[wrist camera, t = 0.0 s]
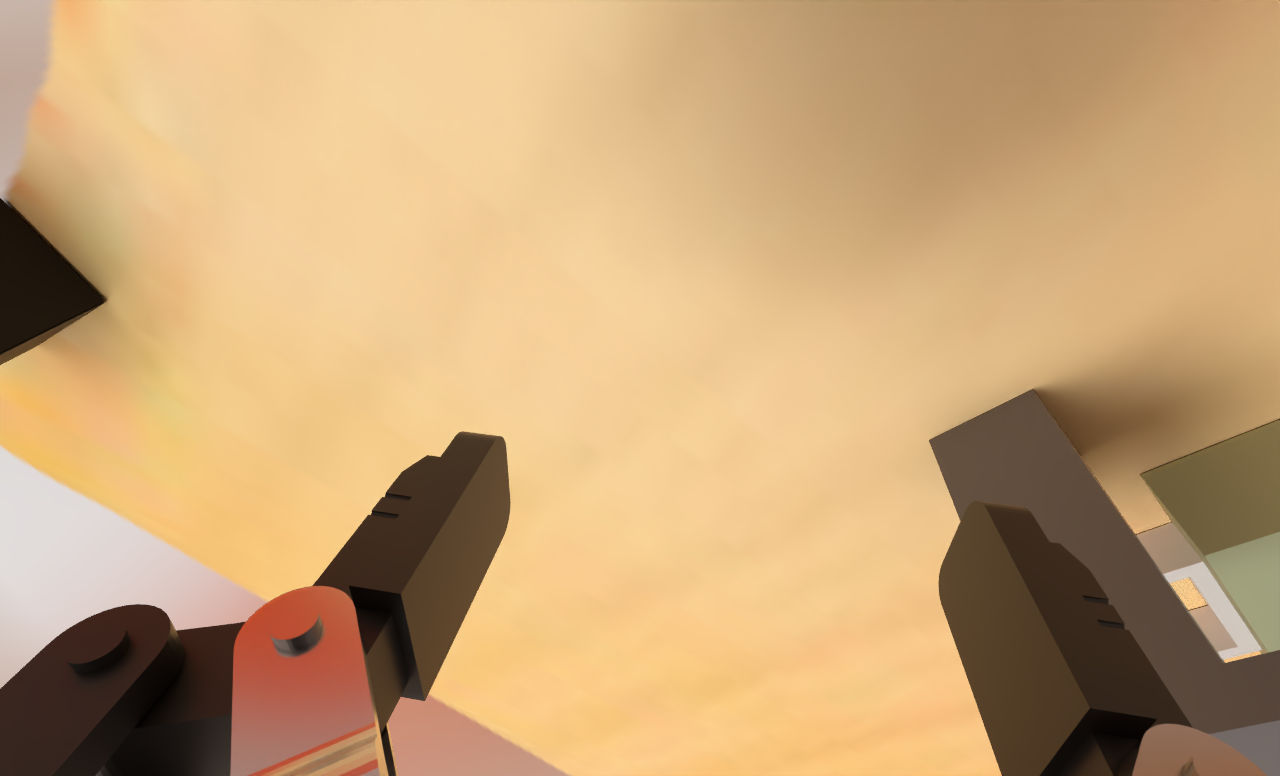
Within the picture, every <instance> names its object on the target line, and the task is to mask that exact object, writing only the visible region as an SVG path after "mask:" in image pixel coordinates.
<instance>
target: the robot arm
mask: <svg viewBox="0 0 1280 776" xmlns="http://www.w3.org/2000/svg"><path fill="white" fill-rule="evenodd" d="M509 514H510V491H509V478H508V465H507V452H506V443H505V440H504V438H503V437H501V436H493V435H486V434H478V433H471V432H459V433H458V434H457V435H456V436H455V438H454V439H453V440H452V442H451V443H450V445H449V446H448V447H447V449H446V450H445V452H444V453H443V454H442V456H441V457H436V456H429V455H427V456H426V457H424V458H422V459H421V460H419V461H418V462H416V463H415V464H413V465H412V466H410V467H409V468H407V469H406V470H404V471H403V472H402V473H401V474H400V475H399V476H398V478H397V479H396V480H395V482H394V483H393V484H392V485H391V487H390V488H389V489H388V490H387V492H386V495H385V497H382V498H381V499H380V501H379V502H378V503H377V504H376V506H375V507H374V508H373V510H372V514H371V515H368V516H367V517H366V519H365V520H364V521H363V522H362V524H361V525H360V526H359V527H358V529H357V530H356V531H355V533H354V534H353V535H352V536H351V538H350V539H349V540H348V541H347V543H346V544H345V545H344V547H343V548H342V549H341V550H340V552H339V553H338V554H337V556H336V557H335V558H334V559H333V561H332V562H331V563H330V564H329V566H328V567H327V568H326V570H325V571H324V572H323V573H322V575H321V576H320V577H319V578H318V580H317V581H316V582H315V583H314V584H313V586H310V587H304V588H300V589H296V590H293V591H290V592H287V593H285V594H282V595H280V596H278V597H276V598H274V599H273V600H271V601H269V602H268V603H266V604H265V605H263V606H262V607H261V608H260V609H258V610H257V611H256V612H255V613H254V614H253V615H252V616H251V617H250V618H249V619H248V620H247V621H246V622H241V623H236V624H227V625H219V626H211V627H203V628H194V629H186V630H178V631H176V630H175V628H174V626H173V624H172V622H171V621H170V619H169V617H168V615H167V614H166V613H165V612H164V611H163V610H162V609H159V608H157V607H155V606H150V605H140V604H139V605H138V604H137V605H126V606H121V607H117V608H113V609H110V610H107V611H103V612H101V613H98V614H96V615H93V616H91V617H89V618H87V619H85V620H83V621H81V622H79V623H77V624H76V625H74V626H72V627H70V628H69V629H67V630H66V631H64V632H63V633H62V634H60V635H59V636H57V637H56V638H55V639H54V640H53V641H51V642H50V643H49V644H48V645H47V646H46V647H45V648H44V649H42V650H41V651H40V652H39V653H38V654H37V655H36V656H35V657H34V658H33V659H32V660H31V661H30V662H29V663H27V664H26V666H25V667H23V668H22V669H21V670H20V671H19V672H18V673H17V674H16V675H15V676H14V677H12V678H11V679H10V680H9V681H8V682H7V683H6V684H5V685H4V686H3V687H2V688H1V689H0V776H398V772H397V767H396V761H395V757H394V751H393V746H392V741H391V736H390V730H389V726H388V720H389V718H390V716H391V714H392V712H393V710H394V708H395V706H396V705H397V703H398V701H399V699H400V697H405V698H411V699H417V700H422V701H425V700H426V697H427V695H428V693H429V691H430V689H431V687H432V685H433V683H434V681H435V679H436V677H437V674H438V672H439V670H440V668H441V666H442V664H443V662H444V660H445V658H446V656H447V654H448V651H449V649H450V647H451V645H452V643H453V641H454V639H455V637H456V635H457V633H458V631H459V628H460V626H461V624H462V622H463V620H464V618H465V616H466V614H467V612H468V610H469V608H470V605H471V603H472V601H473V599H474V597H475V595H476V593H477V591H478V589H479V587H480V585H481V583H482V580H483V578H484V576H485V574H486V572H487V570H488V568H489V566H490V564H491V562H492V560H493V557H494V555H495V553H496V551H497V549H498V547H499V545H500V543H501V541H502V539H503V536H504V534H505V531H506V528H507V524H508V520H509ZM939 595H940V600H941V604H942V607H943V610H944V613H945V615H946V618H947V621H948V624H949V627H950V630H951V632H952V635H953V638H954V641H955V644H956V647H957V649H958V652H959V655H960V658H961V661H962V664H963V666H964V669H965V672H966V675H967V678H968V681H969V683H970V686H971V689H972V692H973V695H974V698H975V700H976V703H977V706H978V709H979V712H980V715H981V717H982V720H983V723H984V726H985V729H986V732H987V734H988V737H989V740H990V743H991V746H992V749H993V751H994V754H995V757H996V760H997V763H998V766H999V769H1000V771H1001V774H1002V776H1267V775H1266V774H1265V773H1264V772H1263V771H1262V770H1261V769H1259V768H1258V767H1257V766H1256V765H1255V764H1254V763H1253V762H1251V761H1250V760H1249V759H1248V758H1246V757H1245V756H1244V755H1242V754H1241V753H1240V752H1238V751H1237V750H1235V749H1234V748H1232V747H1231V746H1229V745H1227V744H1226V743H1224V742H1222V741H1221V740H1219V739H1217V738H1215V737H1213V736H1211V735H1209V734H1207V733H1204V732H1202V731H1200V730H1197V729H1194V728H1193V727H1192V725H1191V724H1190V722H1189V721H1188V719H1187V718H1186V716H1185V715H1184V713H1183V712H1182V710H1181V709H1180V707H1179V706H1178V704H1177V703H1176V701H1175V699H1174V698H1173V696H1172V695H1171V693H1170V692H1169V690H1168V689H1167V687H1166V686H1165V684H1164V683H1163V681H1162V680H1161V678H1160V677H1159V675H1158V673H1157V672H1156V670H1155V669H1154V667H1153V666H1152V664H1151V663H1150V661H1149V660H1148V658H1147V657H1146V655H1145V654H1144V652H1143V651H1142V649H1141V647H1140V646H1139V644H1138V643H1137V641H1136V640H1135V638H1134V637H1133V635H1132V634H1131V632H1130V631H1129V630H1125V628H1124V625H1125V623H1124V621H1123V620H1122V618H1121V617H1120V615H1119V614H1118V612H1117V611H1116V609H1115V608H1114V606H1113V605H1109V603H1108V600H1109V599H1108V597H1107V596H1106V594H1105V592H1104V591H1103V589H1102V588H1101V586H1100V585H1099V583H1098V582H1097V580H1096V579H1095V577H1094V576H1093V574H1092V573H1091V571H1090V570H1089V569H1088V568H1087V567H1086V566H1085V565H1084V564H1082V563H1081V562H1080V561H1079V560H1078V559H1077V558H1076V557H1075V556H1073V555H1072V554H1071V553H1070V552H1069V551H1068V550H1067V549H1066V548H1064V547H1063V546H1062V545H1061V544H1060V543H1053V542H1049V540H1048V539H1047V537H1046V535H1045V534H1044V532H1043V530H1042V529H1041V527H1040V526H1039V524H1038V522H1037V521H1036V519H1035V517H1034V516H1033V514H1032V513H1031V511H1029V510H1028V509H1027V508H1025V507H1021V506H1014V505H1006V504H998V503H991V502H983V501H973V502H971V503H970V504H969V506H968V507H967V509H966V511H965V513H964V515H963V517H962V520H961V522H960V524H959V526H958V529H957V531H956V533H955V536H954V538H953V540H952V542H951V545H950V547H949V549H948V551H947V554H946V556H945V558H944V561H943V563H942V566H941V569H940V574H939Z"/></svg>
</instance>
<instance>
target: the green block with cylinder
mask: <svg viewBox="0 0 1280 776" xmlns="http://www.w3.org/2000/svg"><path fill="white" fill-rule="evenodd" d="M1140 475H1141V477H1142V478H1143V480H1144V481H1145V482H1146V484H1147V485H1148V487H1149V488H1150V490H1151V491H1152V493H1153V494H1154V496H1155V497H1156V499H1157V500H1158V502H1159V503H1160V505H1161V506H1162V508H1163V509H1164V511H1165V512H1166V514H1167V515H1168V517H1169V518H1170V520H1171V521H1172V522H1171V523H1169V524H1166V525H1163V526H1160V527H1157V528H1154V529H1152V530H1149V531H1146V532H1143V533H1140V534H1137V535H1136V536H1137V538H1138V539H1139V540H1140V542H1141V543H1142V545H1143V546H1144V548H1145V549H1146V550H1147V552H1148V553H1149V555H1150V556H1151V558H1152V559H1153V561H1154V562H1155V563H1156V565H1157V566H1158V568H1159V569H1160V571H1161V572H1162V573H1163V575H1164V576H1165V578H1166V579H1167V581H1168V582H1169V583H1172V582H1175V581H1179V580H1182V579H1185V578H1189V579H1190V580H1191V582H1192V583H1193V585H1194V586H1195V588H1196V589H1197V590H1198V592H1199V593H1200V595H1201V596H1202V598H1203V599H1204V601H1205V602H1206V603H1207V606H1204V607H1200V608H1197V609H1193V610H1190V611H1189V612H1190V614H1191V615H1192V617H1193V618H1194V619H1195V621H1196V622H1197V624H1198V625H1199V627H1200V628H1201V629H1202V631H1203V632H1204V634H1205V635H1206V637H1207V638H1208V639H1209V641H1210V642H1211V644H1212V645H1213V647H1214V648H1215V650H1216V651H1217V652H1218V654H1219V655H1220V657H1221V658H1222V660H1224V659H1228V658H1232V657H1236V656H1240V655H1244V654H1248V653H1252V652H1256V651H1260V652H1261V654H1265V653H1269V652H1273V651H1277V650H1280V420H1277V421H1275V422H1272V423H1270V424H1267V425H1265V426H1262V427H1259V428H1257V429H1254V430H1252V431H1249V432H1247V433H1244V434H1242V435H1239V436H1237V437H1234V438H1232V439H1229V440H1226V441H1224V442H1221V443H1219V444H1216V445H1214V446H1211V447H1209V448H1206V449H1204V450H1201V451H1199V452H1196V453H1193V454H1191V455H1188V456H1186V457H1183V458H1181V459H1178V460H1176V461H1173V462H1171V463H1168V464H1166V465H1163V466H1160V467H1158V468H1155V469H1153V470H1150V471H1148V472H1145V473H1143V474H1140Z"/></svg>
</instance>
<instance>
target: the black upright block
mask: <svg viewBox="0 0 1280 776" xmlns="http://www.w3.org/2000/svg"><path fill="white" fill-rule="evenodd" d="M102 304H104V300H103V299H102V298H101V297H100V296H99V295H98V294H97V293H96V292H95V291H94V290H93V289H92V288H91V287H90V286H89V285H88V284H87V283H86V282H85V281H84V280H83V279H82V278H81V277H80V276H79V275H78V274H76V273H75V272H74V271H73V270H72V269H71V268H70V267H69V266H68V265H67V264H66V263H65V262H64V261H63V260H62V259H61V258H60V257H59V256H58V255H57V254H56V253H55V252H54V251H53V250H52V249H51V248H50V247H49V246H48V245H47V244H46V243H45V242H44V241H43V240H42V239H41V238H40V237H39V236H38V235H37V234H36V233H35V232H34V231H33V230H32V229H31V228H30V227H29V226H28V225H27V224H26V223H25V222H24V221H23V220H22V219H21V218H20V217H19V216H18V215H17V214H16V213H15V212H14V211H13V210H12V209H11V208H10V207H9V206H8V205H7V204H6V203H5V202H4V201H3V200H2V199H1V198H0V365H1V364H3V363H5V362H7V361H9V360H11V359H13V358H15V357H17V356H19V355H21V354H23V353H24V352H26V351H28V350H30V349H32V348H34V347H36V346H37V345H39V344H40V343H42V342H44V341H45V340H47V339H48V338H50V337H51V336H53V335H55V334H56V333H58V332H59V331H61V330H63V329H64V328H66V327H67V326H69V325H70V324H72V323H74V322H75V321H77V320H78V319H80V318H81V317H83V316H85V315H86V314H88V313H89V312H91V311H93V310H94V309H96V308H97V307H99V306H100V305H102Z"/></svg>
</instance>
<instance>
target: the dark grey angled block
mask: <svg viewBox="0 0 1280 776" xmlns="http://www.w3.org/2000/svg"><path fill="white" fill-rule="evenodd" d="M929 442H930V444H931V447H932V449H933V452H934V454H935V457H936V460H937V462H938V465H939V467H940V470H941V472H942V475H943V477H944V480H945V483H946V485H947V488H948V490H949V493H950V495H951V498H952V500H953V503H954V506H955V508H956V511H957V513H958V516H959V518H960V521H961V520H962V517H963V515H964V513H965V511H966V509H967V507H968V506H969V504H970V503H971V502H973V501H983V502H991V503H998V504H1006V505H1014V506H1021V507H1025V508H1027V509H1028V510H1029V511H1031V513H1032V514H1033V516H1034V517H1035V519H1036V521H1037V522H1038V524H1039V526H1040V527H1041V529H1042V530H1043V532H1044V534H1045V535H1046V537H1047V539H1048V540H1049V542H1053V543H1060V544H1061V545H1062V546H1063V547H1064V548H1066V549H1067V550H1068V551H1069V552H1070V553H1071V554H1072V555H1073V556H1075V557H1076V558H1077V559H1078V560H1079V561H1080V562H1081V563H1082V564H1084V565H1085V566H1086V567H1087V568H1088V569H1089V570H1090V571H1091V573H1092V574H1093V576H1094V577H1095V579H1096V580H1097V582H1098V583H1099V585H1100V586H1101V588H1102V589H1103V591H1104V592H1105V594H1106V596H1107V597H1108V599H1109V600H1108V603H1109V605H1113V606H1114V608H1115V609H1116V611H1117V612H1118V614H1119V615H1120V617H1121V618H1122V620H1123V621H1124V623H1125V625H1124V628H1125V630H1129V631H1130V632H1131V634H1132V635H1133V637H1134V638H1135V640H1136V641H1137V643H1138V644H1139V646H1140V647H1141V649H1142V651H1143V652H1144V654H1145V655H1146V657H1147V658H1148V660H1149V661H1150V663H1151V664H1152V666H1153V667H1154V669H1155V670H1156V672H1157V673H1158V675H1159V677H1160V678H1161V680H1162V681H1163V683H1164V684H1165V686H1166V687H1167V689H1168V690H1169V692H1170V693H1171V695H1172V696H1173V698H1174V699H1175V701H1176V703H1177V704H1178V706H1179V707H1180V709H1181V710H1182V712H1183V713H1184V715H1185V716H1186V718H1187V719H1188V721H1189V722H1190V724H1191V725H1192V727H1193V728H1194V729H1197V730H1200V731H1202V732H1204V733H1207V734H1209V735H1211V736H1213V737H1215V738H1217V739H1219V740H1221V741H1222V742H1224V743H1226V744H1227V745H1229V746H1231V747H1232V748H1234V749H1235V750H1237V751H1238V752H1240V753H1241V754H1242V755H1244V756H1245V757H1246V758H1248V759H1249V760H1250V761H1251V762H1253V763H1254V764H1255V765H1256V766H1257V767H1258V768H1259V769H1261V770H1262V771H1263V772H1264V773H1265V774H1266V775H1267V776H1280V650H1277V651H1273V652H1269V653H1265V654H1261V655H1257V656H1253V657H1249V658H1244V659H1240V660H1236V661H1232V662H1228V663H1225V662H1224V661H1223V660H1222V658H1221V657H1220V655H1219V654H1218V652H1217V651H1216V650H1215V648H1214V647H1213V645H1212V644H1211V642H1210V641H1209V639H1208V638H1207V637H1206V635H1205V634H1204V632H1203V631H1202V629H1201V628H1200V627H1199V625H1198V624H1197V622H1196V621H1195V619H1194V618H1193V617H1192V615H1191V614H1190V612H1189V611H1188V609H1187V608H1186V606H1185V605H1184V604H1183V602H1182V601H1181V599H1180V598H1179V596H1178V595H1177V594H1176V592H1175V591H1174V589H1173V588H1172V586H1171V585H1170V584H1169V582H1168V581H1167V579H1166V578H1165V576H1164V575H1163V573H1162V572H1161V571H1160V569H1159V568H1158V566H1157V565H1156V563H1155V562H1154V561H1153V559H1152V558H1151V556H1150V555H1149V553H1148V552H1147V550H1146V549H1145V548H1144V546H1143V545H1142V543H1141V542H1140V540H1139V539H1138V538H1137V536H1136V535H1135V533H1134V532H1133V530H1132V529H1131V528H1130V526H1129V525H1128V523H1127V522H1126V520H1125V519H1124V517H1123V516H1122V515H1121V513H1120V512H1119V510H1118V509H1117V507H1116V506H1115V505H1114V503H1113V502H1112V500H1111V499H1110V497H1109V496H1108V495H1107V493H1106V492H1105V490H1104V489H1103V487H1102V486H1101V484H1100V483H1099V482H1098V480H1097V479H1096V477H1095V476H1094V474H1093V473H1092V472H1091V470H1090V469H1089V467H1088V466H1087V464H1086V463H1085V461H1084V460H1083V459H1082V457H1081V456H1080V454H1079V453H1078V452H1077V450H1076V449H1075V447H1074V446H1073V445H1072V443H1071V442H1070V440H1069V439H1068V438H1067V436H1066V435H1065V433H1064V432H1063V431H1062V429H1061V428H1060V426H1059V425H1058V424H1057V422H1056V421H1055V419H1054V418H1053V417H1052V415H1051V414H1050V412H1049V411H1048V410H1047V408H1046V407H1045V405H1044V404H1043V403H1042V401H1041V400H1040V398H1039V397H1038V396H1037V394H1036V393H1035V391H1034V390H1033V389H1032V390H1030V391H1028V392H1026V393H1024V394H1022V395H1020V396H1018V397H1016V398H1014V399H1012V400H1010V401H1008V402H1006V403H1004V404H1002V405H1000V406H998V407H996V408H994V409H992V410H990V411H988V412H986V413H984V414H982V415H980V416H978V417H976V418H974V419H971V420H969V421H967V422H965V423H963V424H961V425H959V426H957V427H955V428H953V429H951V430H949V431H947V432H945V433H943V434H941V435H939V436H937V437H935V438H933V439H931V440H929Z"/></svg>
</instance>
